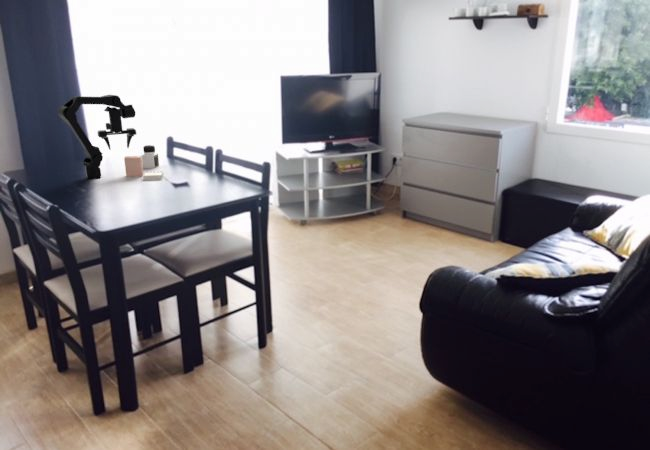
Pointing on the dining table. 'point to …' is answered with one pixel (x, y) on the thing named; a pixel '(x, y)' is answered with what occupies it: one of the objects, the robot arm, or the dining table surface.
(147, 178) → the board
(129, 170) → the pink rectangular block
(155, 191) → the dining table surface
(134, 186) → the dining table surface
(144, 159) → the medicine bottle
